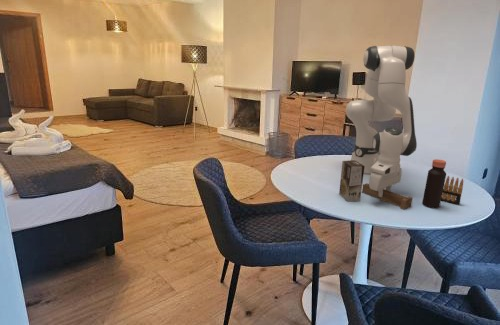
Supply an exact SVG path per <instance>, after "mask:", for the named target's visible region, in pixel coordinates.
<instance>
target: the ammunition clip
mask: <svg viewBox="0 0 500 325" xmlns="http://www.w3.org/2000/svg"><path fill="white" fill-rule="evenodd" d="M454 177H455V176H452V177H451V178H450V175H448V176H446V178H445V183H444V188H443V193H442V198H441V202H443V203H447V204H450V205H451V204H452V205H456V206H460V204H461V198H462V193H463V188H464V178H461V180H459V177H457V178H456V179H455V178H454ZM459 181H460V182H459Z"/></svg>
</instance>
